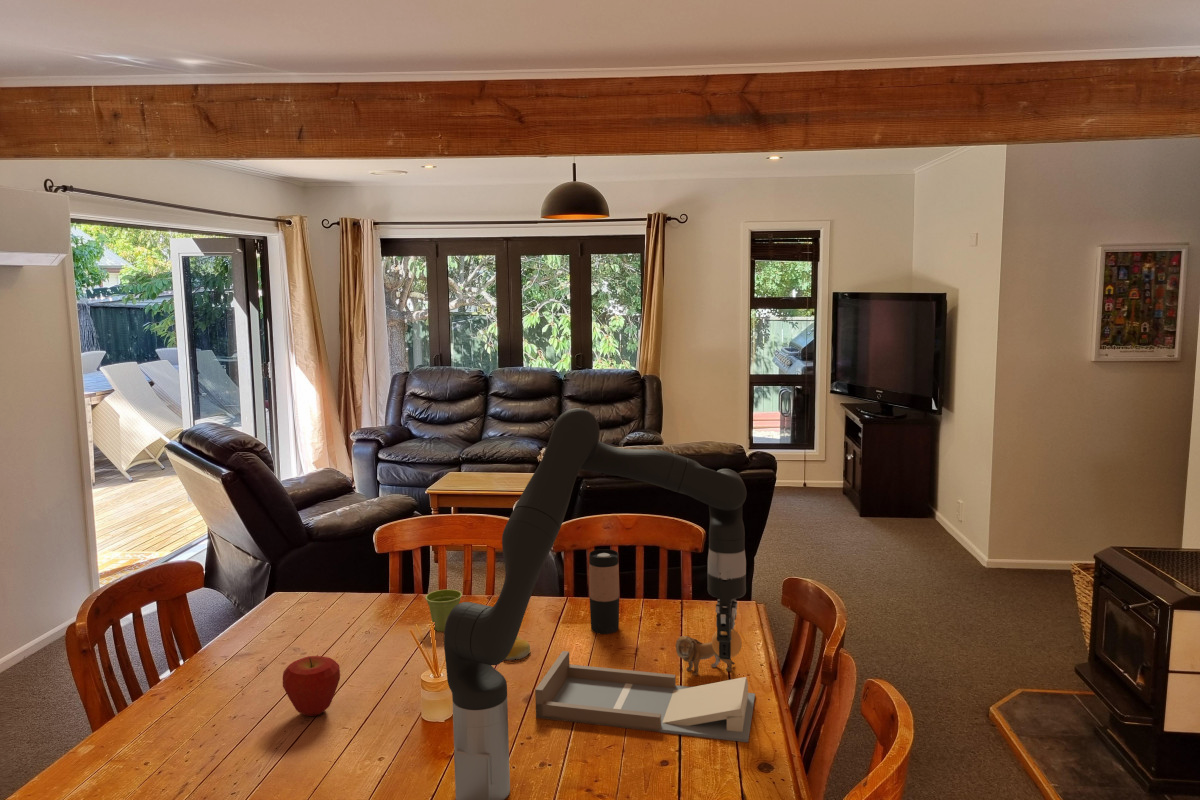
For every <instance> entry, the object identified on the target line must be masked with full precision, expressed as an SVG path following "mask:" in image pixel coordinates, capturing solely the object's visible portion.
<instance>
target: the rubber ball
mask: <svg viewBox="0 0 1200 800" xmlns="http://www.w3.org/2000/svg"><path fill="white" fill-rule="evenodd" d="M721 634H722V635H727V632H724V631H721ZM731 637H732V640H731V657H730V658H731V659H732V658H735V657H736V656H737V655H739V653H740V652H741V649H742V645H743V644H742V643H743V642H742V638H741V635H740V634H739V633H738V631H736V630H735V628H734V629H732V631H731ZM711 642H712V647H713V650H714V651H715V653H716V654H717V655H719V641H717V630H716V631H715V632H714V633H713V634H712V638H711Z"/></svg>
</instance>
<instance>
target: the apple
mask: <svg viewBox="0 0 1200 800" xmlns="http://www.w3.org/2000/svg"><path fill="white" fill-rule="evenodd" d="M340 679H341V669H340V664H339V663H338V662H337V661H336V660H334V659H333V658H331V657H328V656H323V655H309V656H306V657H302V658H299V659H297V660H295V661H292V662H291V663H289V665H288V666H287V667H286V668H285V669H284V670H283V672H282V687H283V689H284V691H285V693H286V696H287V697H288V699H289V700H290V703H291V704H292V705H293V707H294V708H295V710H296V711H297V712H298V713H300V714H301V715H303V716H306V717H317V716H319V715H321V714H322V713H324V712H325V711H326V710H327V709H328V708H330V706H331V704H332V702H333V699H334V696H335V693H336V692H337V688H338V685H339V682H340Z"/></svg>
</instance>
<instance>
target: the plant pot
mask: <svg viewBox="0 0 1200 800" xmlns="http://www.w3.org/2000/svg"><path fill="white" fill-rule="evenodd" d="M462 596H463V593H462V592H461V591H460V590H456V589H439V590H435V591H431V592H428V594H426V595H425V600H426V602H427V605H428V606H429V608H428V609H429V612H430V616H431V623H432V622H435V629H434V631H436V630H437V631H436V632H442V631H443V632H444V631H445V625H446V621H447V618H448V616H449V614H450V612H451V610H452V609H453V608H454V607H455V606H456V605H458V604H460V603H461V598H463V597H462Z"/></svg>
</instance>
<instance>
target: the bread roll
mask: <svg viewBox="0 0 1200 800" xmlns="http://www.w3.org/2000/svg"><path fill="white" fill-rule="evenodd" d="M530 652H531V645H530V643H529V642H528V641H527V640H525V639H522V638H521V637H519V636H517V638H516V640H515V643H514V645H513V647H512V649H511V651H510V653H509V654H508V656H507V657H506V658H505V660H504V661H515V659H516V660H521V659H523V658H526V657H527V656H528V655H529V654H530Z"/></svg>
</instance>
